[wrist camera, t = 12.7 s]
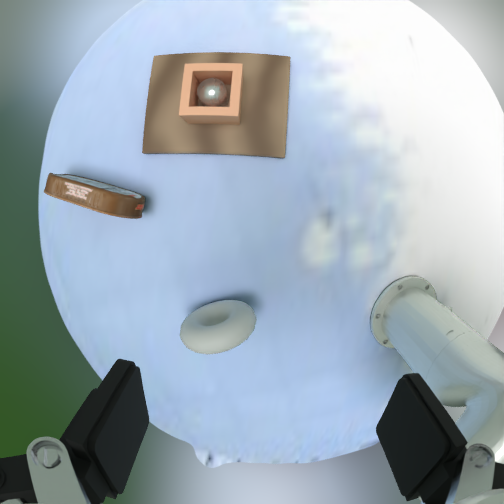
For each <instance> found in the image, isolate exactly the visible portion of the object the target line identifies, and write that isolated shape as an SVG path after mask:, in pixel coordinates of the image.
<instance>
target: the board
mask: <svg viewBox="0 0 504 504" xmlns="http://www.w3.org/2000/svg"><path fill="white" fill-rule="evenodd" d="M191 63H241V64H243V89H242V101H241V114H240V125H235V124H188V123H187V122H186V121H185V120H183V119H182V118H181V117H180V116H179V108H180V99H181V90H182V82H183V74H184V67H185V64H191ZM289 75H290V57H288V56H279V55H268V54H254V53H225V52H212V53H183V54H169V55H159V56H154V59H153V65H152V71H151V77H150V84H149V91H148V99H147V107H146V116H145V126H144V137H143V150H142V153H144V154H225V155H245V156H261V157H273V158H285V147H286V131H287V114H288V96H289ZM224 85H225V88H226V91H227V95H228V103H227V105H226V106H225V107H229V106H230V94H231V85H227V84H224ZM198 107H204V105H203V103H202V102H201V100H200V99H199V98H198Z"/></svg>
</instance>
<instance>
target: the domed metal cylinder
mask: <svg viewBox="0 0 504 504" xmlns="http://www.w3.org/2000/svg"><path fill="white" fill-rule="evenodd" d="M197 95H198V97H199V99H200V100H201V102H202V103H203V105H204V107H225V106H226V105H227V103H228V95H227V91H226V88H225V85H224V83H223V82H222V81H221V80H219V79H217V78H208V79H205V80H204V81H202V82H201V83H200V84H199V86H198V88H197Z"/></svg>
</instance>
